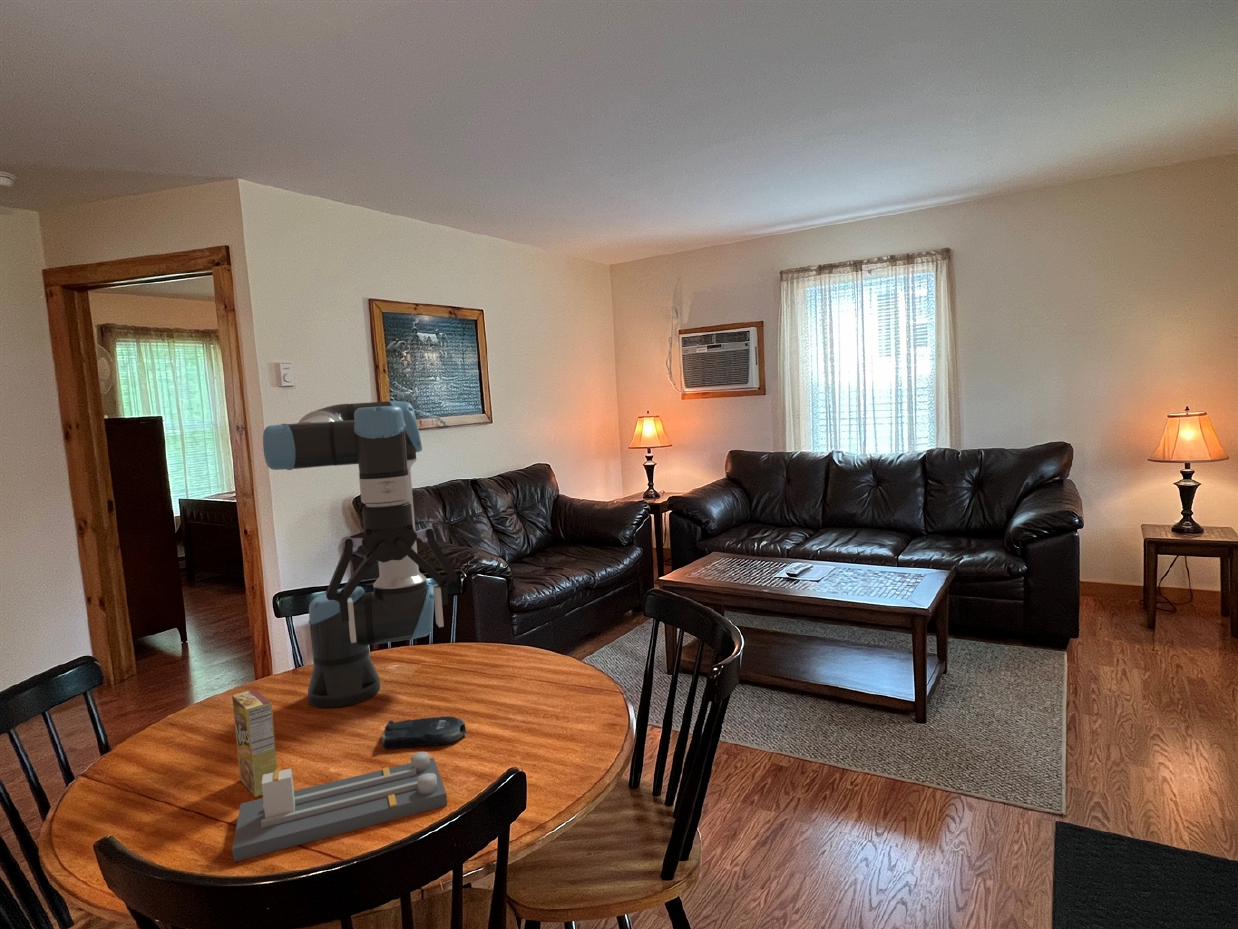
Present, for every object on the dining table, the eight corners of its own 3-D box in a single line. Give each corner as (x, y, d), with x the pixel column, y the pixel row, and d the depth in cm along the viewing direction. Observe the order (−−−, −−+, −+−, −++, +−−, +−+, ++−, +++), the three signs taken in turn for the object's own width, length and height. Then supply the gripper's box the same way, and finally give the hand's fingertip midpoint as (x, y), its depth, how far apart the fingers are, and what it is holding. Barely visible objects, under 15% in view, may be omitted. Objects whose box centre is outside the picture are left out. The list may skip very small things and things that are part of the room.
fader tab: (266, 811, 111) (262, 772, 111) (295, 804, 113) (291, 766, 112) (265, 822, 108) (261, 782, 108) (294, 815, 110) (290, 775, 109)
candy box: (239, 780, 126) (229, 695, 124) (264, 771, 128) (256, 687, 127) (255, 799, 119) (245, 709, 118) (281, 788, 122) (272, 701, 121)
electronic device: (383, 763, 132) (464, 743, 134) (377, 733, 132) (458, 713, 134) (394, 746, 142) (469, 727, 143) (388, 718, 142) (464, 700, 143)
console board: (242, 815, 114) (239, 791, 114) (434, 768, 126) (432, 746, 125) (233, 862, 102) (230, 835, 102) (447, 805, 114) (445, 781, 114)
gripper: (301, 515, 107) (315, 654, 109) (469, 496, 117) (478, 624, 119) (301, 509, 114) (313, 640, 115) (459, 492, 124) (468, 613, 126)
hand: (397, 632), depth 117 cm, fingers open, 13 cm apart
